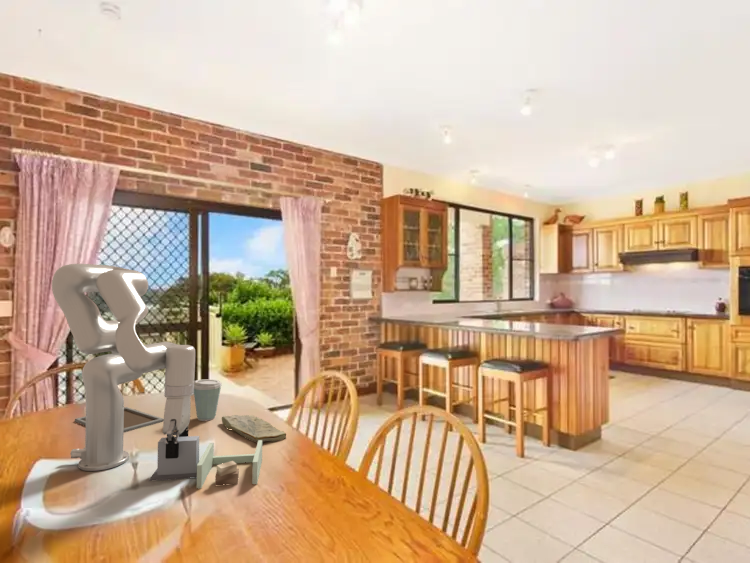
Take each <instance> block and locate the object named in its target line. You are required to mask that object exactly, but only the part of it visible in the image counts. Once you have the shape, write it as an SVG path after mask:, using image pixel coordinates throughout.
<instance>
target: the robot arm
mask: <svg viewBox="0 0 750 563" xmlns="http://www.w3.org/2000/svg"><path fill="white" fill-rule="evenodd" d="M148 290H149V281H148V279H147V277H146V276H145V274H143V273H142V272H141V271H138V270H134V269H128V268H124V267H119V266H115V265H108V264H106V265H105V264H89V263H69V264H66V265H62V266H61V267H59V268H58V269H57V270H56V271H55V272H54V274H53V276H52V280H51V291H52V296H53V298H54V300H55V302H56V303H57V305H58V307H59V308H60V310H61V311H62V314H63V315H64V317H65V319H66V322H67V324H68V327H69V329H70V332H71V334H72V337H73V340H74V342H75V344H76V347H77V348H78V350H79V351H80V352H81V354H85V355H96V354H100V353H101V354H102V353H106V352H107V353H108V352H111V353H108V354H103V355H99V356H96V357H92V358H91V359H90V360H88V361H87V362H86V363H85V364H84V366H83V368H82V372H81V377H82V382H83V387H84V391H85V392H84V393H85V416H86V426H85V438H84V439H85V440H84V441H85V444H84V446H85V447H83V448H73V449H71V451H70V454H69V455H70V459H80V460H79V461H78V468H79V469H80V470H82V471H87V472H95V471H97V472H98V471H105V470H108V469H112V468H115V467H118V466H121V465H123V464H126V462H127V461H129V459H130V453H129V451H126V450H124V435H125V432H124V407H125V400H124V396H123V394H122V392H121V391H120V388H119V387H118V386H120V385H122V384H125V383H130V382H132V381H135V380H138V379H139V378H141V377H142V376H143V375H144V374H146V373H150V372H153V371H154V372H155V371H159V370H163V369H165V370H164V371H165V372H164V374H165V375H164V394H163V396H164V398H166V400H165V405H164V414H163V419H164V421H163V422H162V423H163V424H162V425H163V426H162V434H163V435H164V436H166V437H165V438H166V455H165V458H166V459H173V458H178V457H179V443H178V439H179V437H187V436H189V425H190V421H191V420H190V419H191V397H192V396H194V381H195V374H196V373H195V372H196V349H195V347H194V346H193V345H190V344H177V343H174V342H171V341H161V342H155V343H148V344H144V343H142V341H141V340H140V338H139V336H138V334H137V330H136V324H138V323H140V322H142V320H143V319H145V317H146V316H147V315H148V313H149V308H148V306H147V304H146V303H145V302H144V300H143V298H142V297H143V296H144V295H146V293H147V292H148ZM95 292H96V293H97V292H99V294H100V296H101V297H102V299H103V300H104V302H105V304H106V305H107V307H108V309H109V310H110V312H111V313H112V315H113V317H114V319H115V320H114V319H111V320H105V319H104V317H103V316H102V315H101V312H100V308H99V307H98V305H97V304H96V303H95V302H94V301H93V299H92V298H90V297H88V295H86V294H85V293H95ZM175 437H176V438H175Z"/></svg>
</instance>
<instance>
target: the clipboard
mask: <svg viewBox="0 0 750 563" xmlns="http://www.w3.org/2000/svg"><path fill="white" fill-rule="evenodd" d="M74 422H75V423H78V424H80V425H83V426H85V427H86V415H85V416H82V417H77V418H75V419H74ZM163 422H164V417H159V416H157V415H154V414H150V413H146V412H143V411H140V410H137V409H134V408H132V407H128V406H124V433H127V432H131V431H134V430H138V429H141V428H142V429H143V428H145V427H149V426H152V425H156V424H159V423H163Z"/></svg>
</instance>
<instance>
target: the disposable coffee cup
mask: <svg viewBox="0 0 750 563" xmlns="http://www.w3.org/2000/svg"><path fill="white" fill-rule="evenodd" d="M221 388H222V382H221V381H219V380H217V379H210V378H209V379H198V380H197V379H196V380H194V395H193V396H194V397H193V398H194V403H195V405H194V406H195V413H196V418H197V420H198V421H201V422H206V421H207V422H208V421H212V420H214V419H215V418H216V415H217V410H218V405H219V404H218V403H219V399H220V394H221Z"/></svg>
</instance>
